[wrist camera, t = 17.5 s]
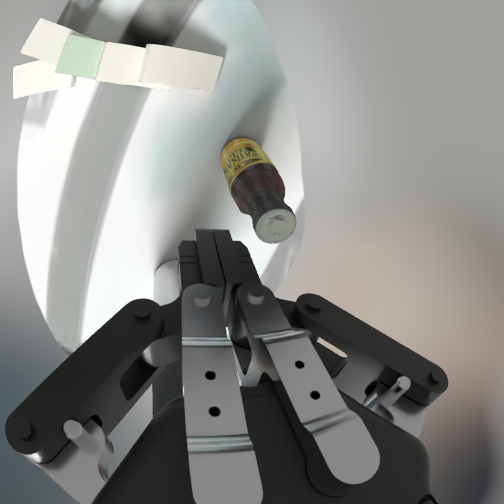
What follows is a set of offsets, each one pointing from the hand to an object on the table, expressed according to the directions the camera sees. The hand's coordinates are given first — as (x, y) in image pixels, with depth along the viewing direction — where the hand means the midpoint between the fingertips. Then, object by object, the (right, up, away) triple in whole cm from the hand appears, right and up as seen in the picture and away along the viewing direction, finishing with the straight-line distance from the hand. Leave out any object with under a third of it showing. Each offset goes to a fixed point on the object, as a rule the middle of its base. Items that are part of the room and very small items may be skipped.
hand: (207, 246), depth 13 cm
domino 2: (-22, +24, +14) cm, 36 cm away
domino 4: (-8, +23, +19) cm, 31 cm away
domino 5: (-3, +23, +20) cm, 31 cm away
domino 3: (-14, +24, +17) cm, 32 cm away
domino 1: (-19, +25, +14) cm, 34 cm away
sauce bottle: (0, +14, +29) cm, 33 cm away
